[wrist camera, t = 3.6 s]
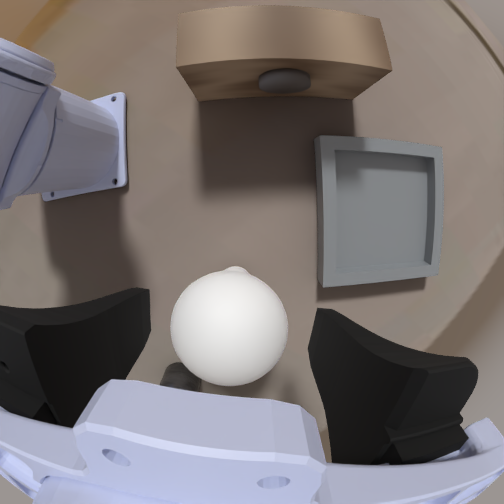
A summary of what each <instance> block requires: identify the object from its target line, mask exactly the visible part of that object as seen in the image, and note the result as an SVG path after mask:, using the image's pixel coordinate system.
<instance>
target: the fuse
mask: <svg viewBox="0 0 504 504" xmlns="http://www.w3.org/2000/svg"><path fill="white" fill-rule="evenodd" d="M200 383H201V378H199V377H197V376H196V375H195V374H193V373H192V372H191V371H189V369H188V368H187V367H186V366H185V365H184V364H183V363H173V364H170V365H169V366H168V367H167V368H166V370H165V373H164V375H163V378H162V380H161V383H160V386H165V387H170V388H176V389H182V390H188V391H194V392H199V387H200Z"/></svg>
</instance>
